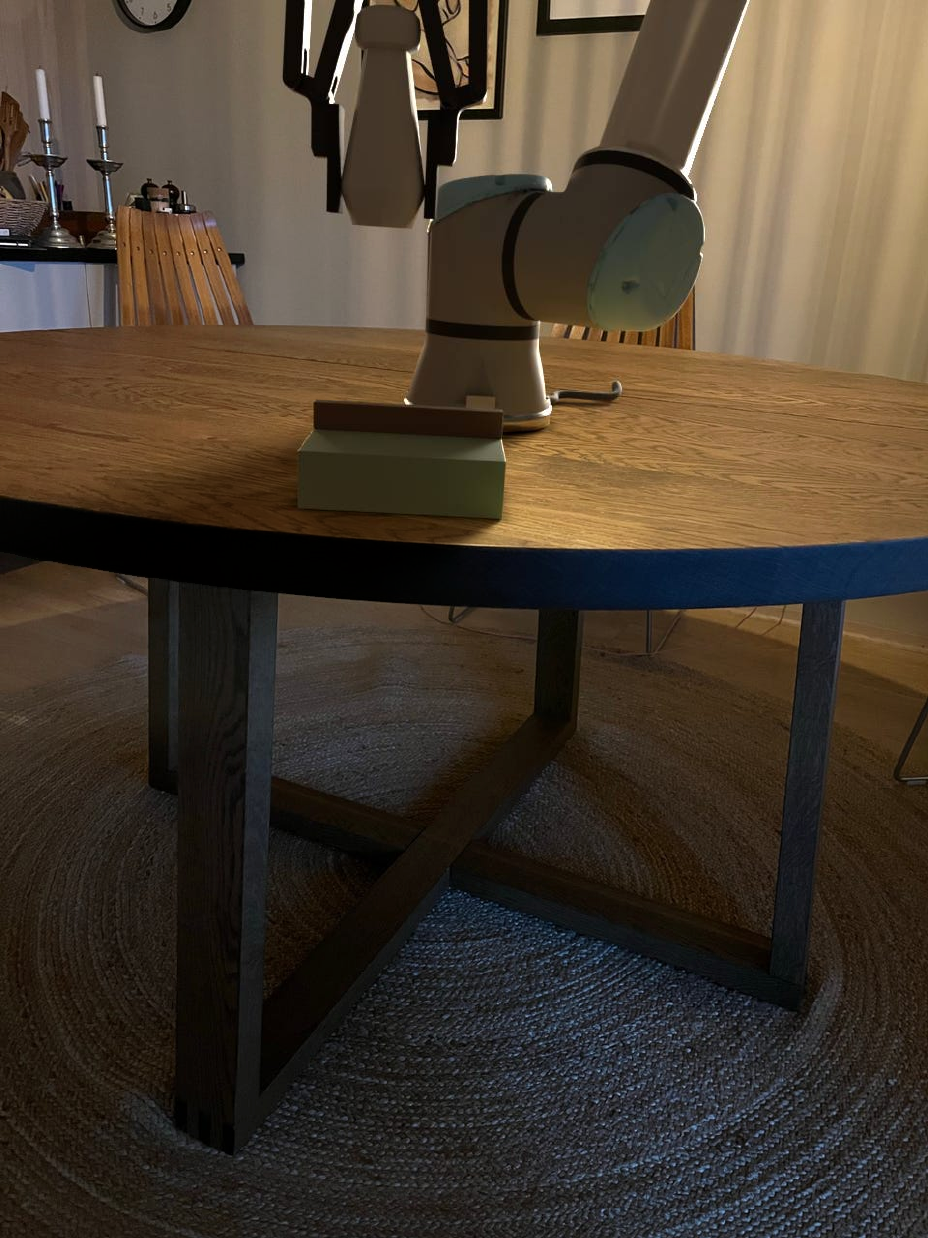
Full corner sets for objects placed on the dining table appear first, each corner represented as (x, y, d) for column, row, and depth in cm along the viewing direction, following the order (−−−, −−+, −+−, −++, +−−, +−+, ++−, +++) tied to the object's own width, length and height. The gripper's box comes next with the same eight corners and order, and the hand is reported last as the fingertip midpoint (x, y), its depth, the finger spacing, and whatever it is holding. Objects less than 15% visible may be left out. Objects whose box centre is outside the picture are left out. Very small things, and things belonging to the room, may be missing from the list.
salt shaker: (341, 224, 71) (345, 13, 66) (422, 229, 71) (431, 21, 67) (337, 223, 65) (341, -7, 61) (425, 229, 66) (435, 1, 61)
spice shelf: (315, 478, 76) (315, 399, 74) (497, 487, 77) (502, 409, 75) (297, 508, 68) (297, 420, 66) (502, 519, 68) (508, 432, 66)
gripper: (547, -166, 63) (518, 225, 71) (251, -186, 63) (256, 208, 71) (555, -217, 56) (522, 223, 64) (223, -240, 56) (231, 204, 64)
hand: (382, 214), depth 68 cm, fingers closed on salt shaker, 6 cm apart
